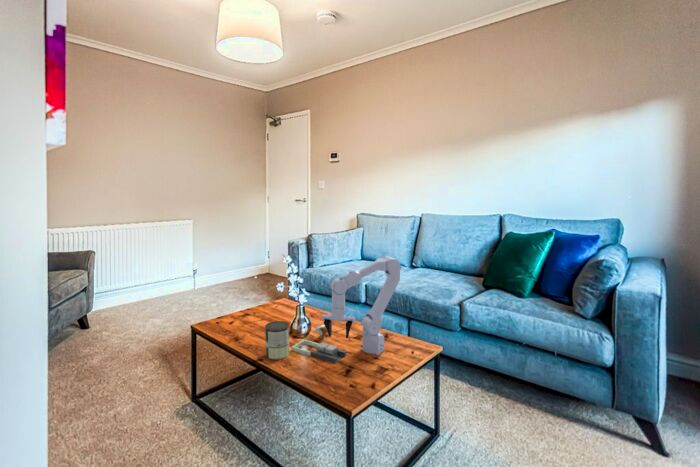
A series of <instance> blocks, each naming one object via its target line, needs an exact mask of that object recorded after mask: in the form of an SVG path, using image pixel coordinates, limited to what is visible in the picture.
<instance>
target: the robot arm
mask: <svg viewBox="0 0 700 467" xmlns="http://www.w3.org/2000/svg"><path fill="white" fill-rule="evenodd" d="M402 268H403V267H402V265H401V262H400V261H399V260H398V259H397V258H393V257H391V256H390V255H387V254H386V255H382V256H381V257H378V258H376V260H375V261H373V262H371V263H370V264H369V263H368V265H366V266H364V267H363V268H361V269H358V270H355V269H354V270H349V272H348V273H346V274H344V275H343V276H342V275H340V276H339V278H334V279H332V280H331V282H330V284H329V287H330V289H331V314H322V316H321V321H324V322H323V325H325V327H326V329H327V331H328V332H327V333H328V338H331V337H332V335H333V333H332V332H333V330H331V325H332V326H333V324H332V322H333V321H334V322H345V338H346V339H349V336H350V331H351V328H352V325H353V324H354V323H356V316H351V315H346V292H347V290H348V289H350V288H352V287H353V286H355V285H357V284H359V283H361V282H362V278H365V277H367V276H369V275H371V274H372V273H375V272H377V271H378V272H379V271H381V272H384V274H385V276H386V280H385V282H384V283H383V286H382V288H381V290H380V292H379V293H378V295H377V297H376V299H375V302H374V303H373V305H372V307H371V309H370V310H367V312H366V313H365V315H363V316H362V318H361V320H360V325H361V327H362V351H363V353H366V354H373V355H377V356H379V355H380V354H382V353H383V352H384V351H385V336H384V334H382V333H380V332H381V329H382V323H383V322H384V321H383V314H384V312H385V310H386V309H387V306H388V304H389V303H390V300H391V298H392V296H393V294H394V292H395V291H396V288H397V287H398V284H399V282H400V279H401V271H402Z"/></svg>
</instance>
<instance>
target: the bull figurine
mask: <svg viewBox="0 0 700 467" xmlns="http://www.w3.org/2000/svg"><path fill="white" fill-rule="evenodd" d="M332 328H333V324H332V325H331V330H332ZM332 331H333V330H332ZM313 332H314V333H317V334H319V336H320V339H322V338H323V340H324V341H325V340H326V335H327V333H328V331H327V329H326V327H325V325H324V324H321V325H316V326H315V329H314V330H313Z"/></svg>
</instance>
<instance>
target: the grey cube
mask: <svg viewBox="0 0 700 467" xmlns="http://www.w3.org/2000/svg"><path fill="white" fill-rule="evenodd" d="M338 349H339V348H338V346H335V345H333V344H329V346H327V347H326V348H325V354H327V355H330V356H334V357H337V356H338Z"/></svg>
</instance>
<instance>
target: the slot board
mask: <svg viewBox="0 0 700 467" xmlns="http://www.w3.org/2000/svg"><path fill="white" fill-rule="evenodd" d="M310 352H311V356H310V357H313V358H317V359H320V360H323V361H327V362H329V363H332V364H336V363H338V362H339V361H341V360H342V359H343V358H345V357H346V356H347V351H346V350H343V349H339V348H338V356H337V357H334V356H330V355H327V354H324V353H320V352H317V350H311V351H310Z"/></svg>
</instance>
